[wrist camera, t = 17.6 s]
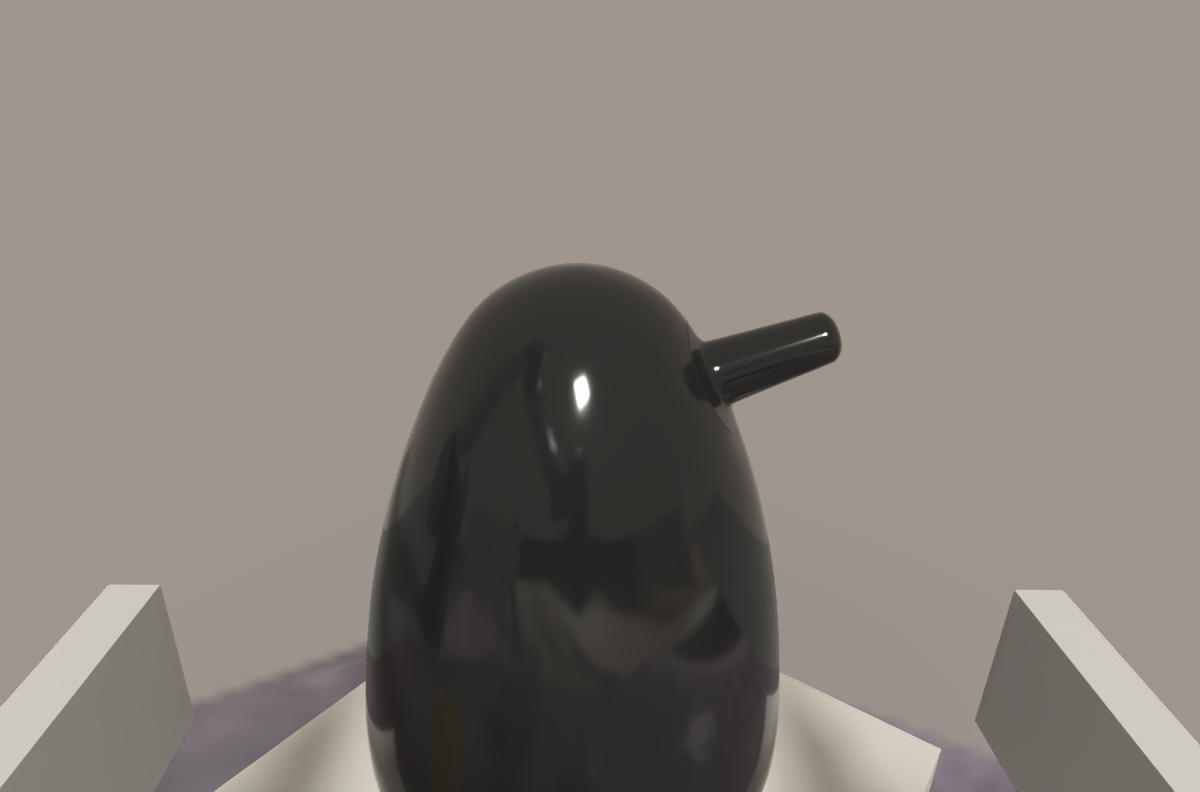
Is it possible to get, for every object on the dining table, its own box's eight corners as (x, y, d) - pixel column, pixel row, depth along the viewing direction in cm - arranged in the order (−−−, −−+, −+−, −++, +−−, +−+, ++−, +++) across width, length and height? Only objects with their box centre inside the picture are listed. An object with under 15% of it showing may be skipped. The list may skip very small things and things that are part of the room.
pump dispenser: (798, 1026, 17) (946, 378, 10) (323, 993, 17) (188, 347, 11) (742, 676, 26) (802, 222, 20) (436, 659, 26) (398, 209, 20)
